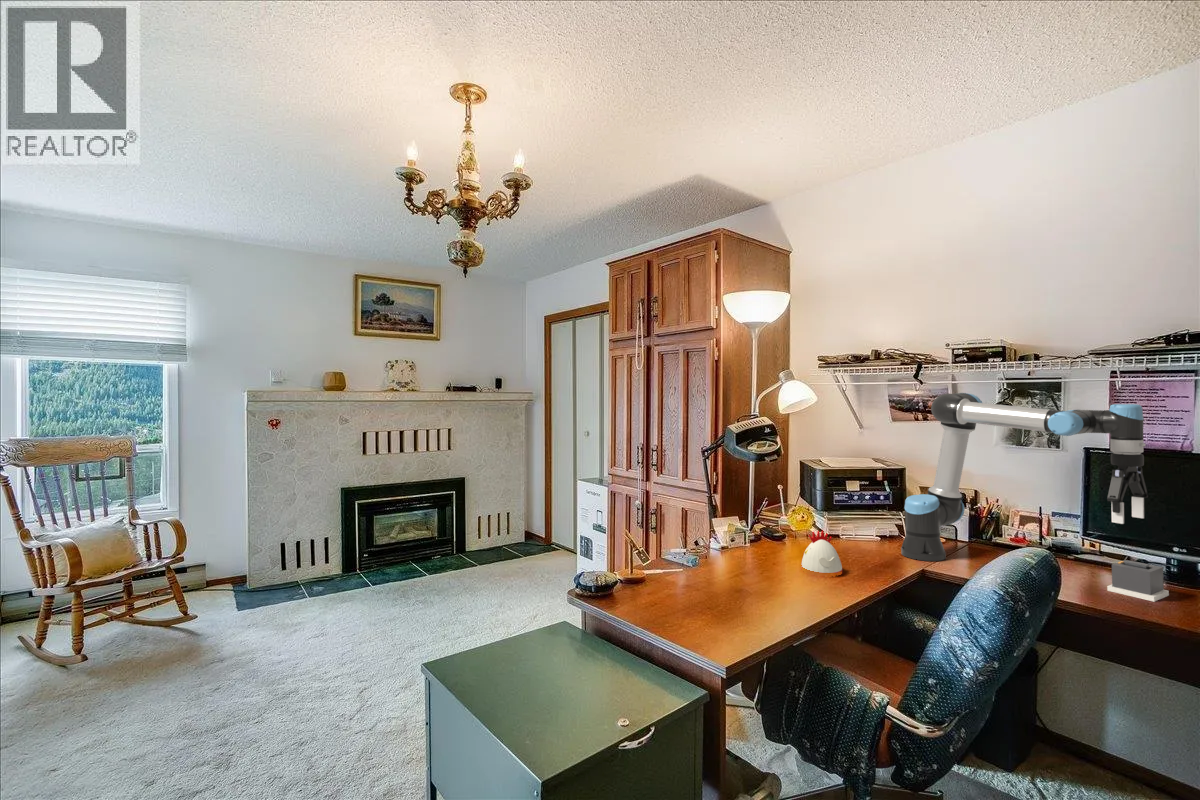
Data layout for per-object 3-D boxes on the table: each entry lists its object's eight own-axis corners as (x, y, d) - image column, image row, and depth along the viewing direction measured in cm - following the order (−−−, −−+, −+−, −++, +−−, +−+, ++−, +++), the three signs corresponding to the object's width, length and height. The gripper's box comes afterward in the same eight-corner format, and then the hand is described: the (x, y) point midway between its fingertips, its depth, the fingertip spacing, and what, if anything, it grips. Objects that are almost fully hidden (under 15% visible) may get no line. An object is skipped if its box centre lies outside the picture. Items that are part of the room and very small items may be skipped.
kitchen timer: (796, 566, 207) (795, 526, 207) (832, 565, 207) (831, 525, 207) (810, 578, 194) (808, 536, 194) (848, 577, 193) (847, 534, 193)
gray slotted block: (1150, 595, 165) (1149, 571, 165) (1112, 586, 173) (1111, 563, 173) (1163, 589, 169) (1162, 566, 169) (1125, 581, 177) (1124, 559, 177)
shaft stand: (1107, 590, 173) (1106, 560, 173) (1122, 585, 178) (1121, 555, 178) (1154, 601, 164) (1153, 570, 163) (1168, 595, 168) (1167, 564, 168)
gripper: (1123, 457, 163) (1125, 527, 163) (1160, 451, 174) (1161, 517, 174) (1092, 454, 170) (1093, 522, 170) (1129, 449, 181) (1130, 513, 181)
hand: (1128, 520), depth 172 cm, fingers open, 13 cm apart
